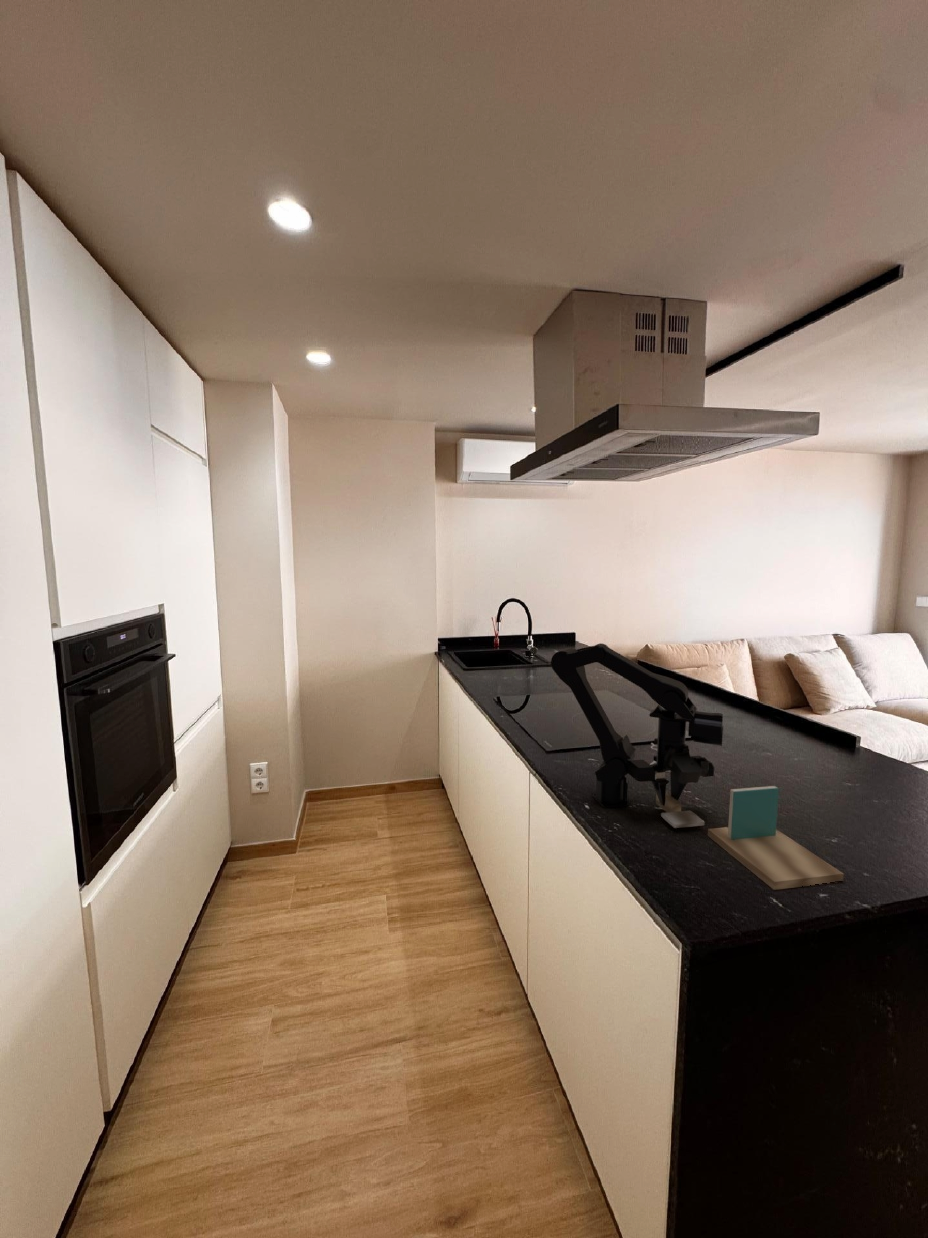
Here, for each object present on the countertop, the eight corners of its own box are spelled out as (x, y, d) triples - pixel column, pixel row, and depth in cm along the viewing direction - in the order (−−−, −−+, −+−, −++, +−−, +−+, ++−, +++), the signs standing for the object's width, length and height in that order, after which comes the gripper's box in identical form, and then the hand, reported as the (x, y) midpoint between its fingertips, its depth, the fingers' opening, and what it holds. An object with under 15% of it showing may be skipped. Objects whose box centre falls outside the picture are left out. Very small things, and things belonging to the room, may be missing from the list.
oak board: (773, 890, 88) (774, 882, 88) (707, 835, 106) (708, 829, 106) (842, 881, 90) (843, 873, 90) (766, 830, 108) (767, 823, 108)
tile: (731, 839, 101) (734, 792, 100) (727, 836, 102) (730, 789, 101) (775, 835, 103) (778, 788, 102) (771, 832, 104) (774, 786, 103)
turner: (674, 828, 106) (674, 816, 106) (646, 804, 117) (647, 793, 117) (704, 825, 108) (705, 814, 107) (674, 801, 118) (675, 791, 118)
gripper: (652, 753, 104) (649, 825, 105) (733, 748, 107) (729, 818, 108) (625, 735, 114) (623, 801, 116) (700, 731, 118) (697, 795, 119)
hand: (668, 804), depth 115 cm, fingers closed on turner, 2 cm apart
